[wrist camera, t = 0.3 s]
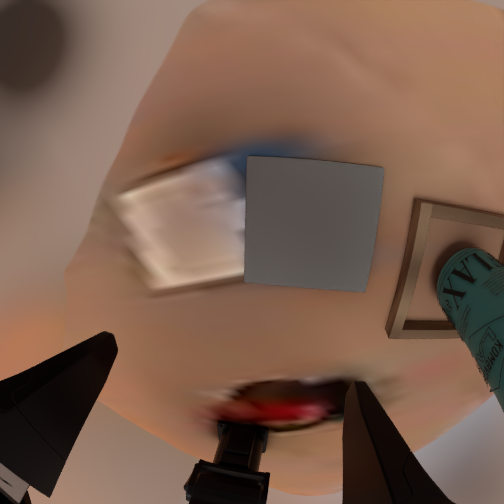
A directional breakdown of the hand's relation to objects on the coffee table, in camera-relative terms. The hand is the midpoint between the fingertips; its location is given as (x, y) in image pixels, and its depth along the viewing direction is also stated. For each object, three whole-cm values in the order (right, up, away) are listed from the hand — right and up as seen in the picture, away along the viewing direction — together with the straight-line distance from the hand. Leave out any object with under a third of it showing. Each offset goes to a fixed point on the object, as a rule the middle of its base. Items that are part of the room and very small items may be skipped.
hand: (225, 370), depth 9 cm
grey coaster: (+5, +6, +12) cm, 15 cm away
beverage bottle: (+19, +2, +12) cm, 23 cm away
